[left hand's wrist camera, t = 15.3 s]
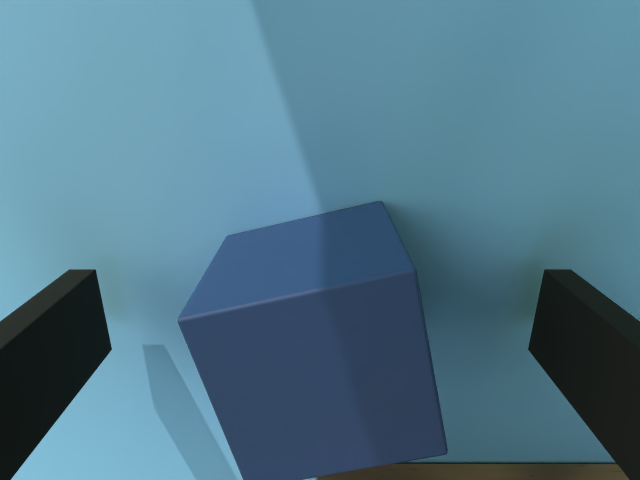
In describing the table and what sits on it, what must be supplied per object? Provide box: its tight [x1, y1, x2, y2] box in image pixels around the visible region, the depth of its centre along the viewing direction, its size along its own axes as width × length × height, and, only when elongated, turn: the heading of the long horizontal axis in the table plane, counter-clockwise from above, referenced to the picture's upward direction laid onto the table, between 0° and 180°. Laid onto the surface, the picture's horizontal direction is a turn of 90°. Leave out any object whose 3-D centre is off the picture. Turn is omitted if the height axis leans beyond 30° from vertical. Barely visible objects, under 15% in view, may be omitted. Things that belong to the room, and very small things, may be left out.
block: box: [178, 201, 447, 480], centre depth 11 cm, size 5×5×5 cm
